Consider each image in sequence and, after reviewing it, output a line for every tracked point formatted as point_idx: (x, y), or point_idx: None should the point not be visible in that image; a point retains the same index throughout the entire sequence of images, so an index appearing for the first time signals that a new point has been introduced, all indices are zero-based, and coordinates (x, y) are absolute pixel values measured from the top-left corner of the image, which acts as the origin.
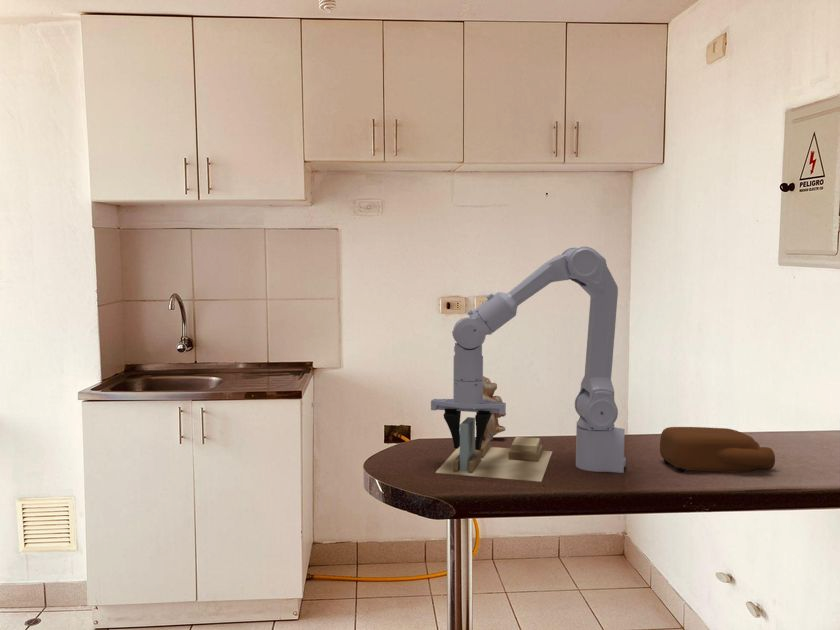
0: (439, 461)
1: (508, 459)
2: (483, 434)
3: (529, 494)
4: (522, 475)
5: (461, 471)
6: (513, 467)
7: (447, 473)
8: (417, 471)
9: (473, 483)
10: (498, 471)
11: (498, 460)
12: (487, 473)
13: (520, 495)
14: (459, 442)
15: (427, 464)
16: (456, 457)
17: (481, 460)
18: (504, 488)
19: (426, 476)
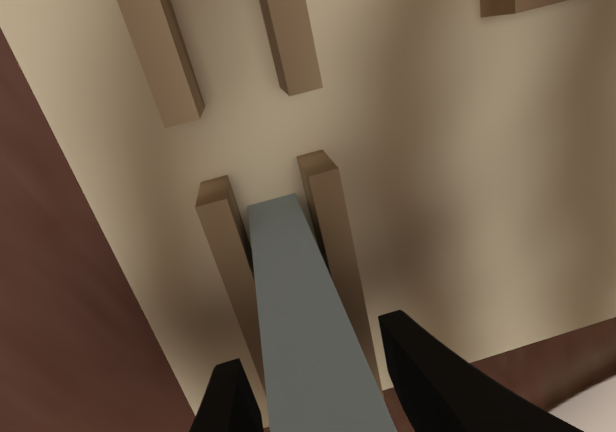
0: (22, 189)
1: (481, 15)
2: (474, 373)
3: (598, 374)
4: (587, 274)
5: None
6: (534, 177)
7: (266, 424)
8: (70, 401)
9: (387, 389)
10: (473, 279)
11: (422, 77)
12: (433, 333)
13: (570, 396)
14: (243, 391)
15: (11, 283)
16: (128, 159)
17: (319, 137)
18: (511, 371)
19: (163, 427)
